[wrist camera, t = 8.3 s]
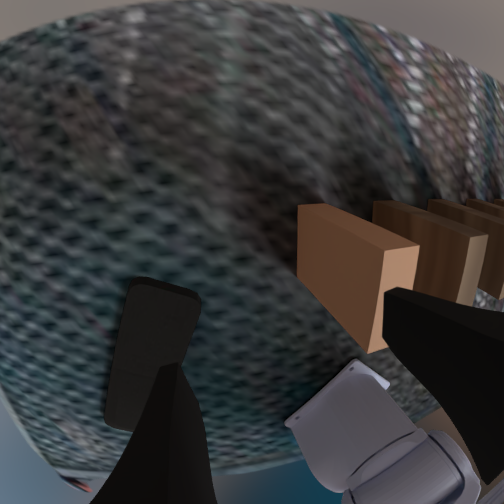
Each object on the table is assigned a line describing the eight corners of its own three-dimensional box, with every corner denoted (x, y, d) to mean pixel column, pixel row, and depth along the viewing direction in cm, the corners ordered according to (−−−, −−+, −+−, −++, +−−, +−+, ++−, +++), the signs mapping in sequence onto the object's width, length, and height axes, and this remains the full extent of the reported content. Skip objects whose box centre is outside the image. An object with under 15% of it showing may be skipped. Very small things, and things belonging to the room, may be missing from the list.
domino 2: (368, 265, 22) (450, 322, 14) (373, 200, 20) (470, 237, 12) (387, 261, 23) (469, 314, 14) (393, 200, 21) (488, 234, 13)
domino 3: (421, 255, 23) (498, 299, 15) (428, 199, 22) (515, 229, 13) (435, 253, 24) (510, 294, 16) (442, 198, 22) (525, 228, 14)
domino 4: (459, 248, 25) (528, 283, 16) (466, 198, 23) (542, 225, 15) (470, 246, 25) (536, 279, 17) (476, 198, 23) (548, 223, 15)
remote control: (134, 266, 19) (103, 416, 22) (131, 276, 17) (102, 430, 20) (204, 286, 20) (156, 427, 23) (207, 298, 19) (156, 441, 22)
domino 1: (296, 276, 21) (367, 353, 13) (297, 204, 19) (384, 250, 11) (322, 272, 21) (400, 342, 13) (325, 203, 20) (419, 245, 11)
